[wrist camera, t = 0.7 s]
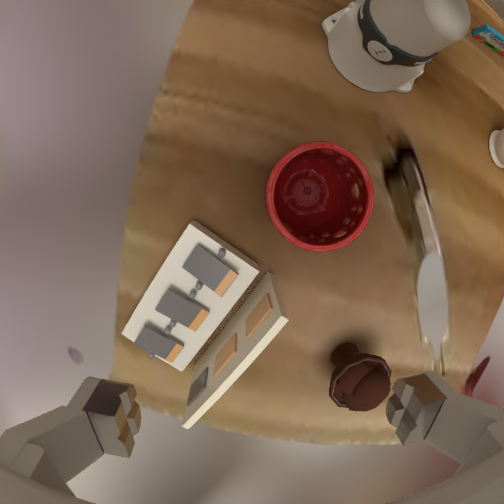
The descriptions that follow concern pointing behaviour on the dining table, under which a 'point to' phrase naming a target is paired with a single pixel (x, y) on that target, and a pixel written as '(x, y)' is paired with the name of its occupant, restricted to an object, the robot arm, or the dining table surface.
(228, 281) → the switch near
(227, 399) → the dining table surface
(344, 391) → the ice cream bowl
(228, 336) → the switch unit
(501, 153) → the jar
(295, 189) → the plant pot
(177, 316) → the switch middle
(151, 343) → the switch far
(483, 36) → the blue printed box
